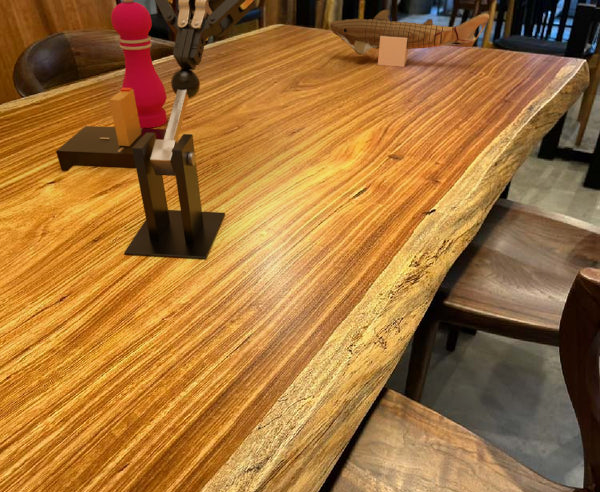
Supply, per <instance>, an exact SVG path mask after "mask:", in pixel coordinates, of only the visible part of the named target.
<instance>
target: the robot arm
mask: <svg viewBox="0 0 600 492" xmlns="http://www.w3.org/2000/svg"><path fill="white" fill-rule="evenodd" d="M154 2H155V3H156V5H157V8H158V9H159V11H160V13H161V15H162V17H163V19H164V20H165V23H166V24H167V25H168V27H169V28H170V30H171V31H172V32H173V34H174V35H176V36H175V37H176V38H175V42H174V45H173V50H172V54H173V55H172V56H173V58H174V59H175V61H176V63H177V65H178V66H179V67H180V69H189V70H191V71H195V70H196V67H197V66H199V65H200V64H201V62H202V59H203V54H204V50H205V45H206V41H208V40H209V38H210V37H213V36H215V37H216V38H222V37H223V36H225V35H226V33H227V34H228V32H229V31H230V30H231V29H232V28H233V27H234V26H235V25H237V24H238V22H240V20H241V19H243V18H244V17H245V16H246V15H247V14H248V13H249V12H250V11H251V10H252V9H253V8H255V6H256V4H257V3H256V0H178V9H179V10H178V14H176V13H175V10H174V8H173V6H172V4H173V3H174V2H173V0H154Z"/></svg>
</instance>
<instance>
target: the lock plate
mask: <svg viewBox="0 0 600 492" xmlns="http://www.w3.org/2000/svg"><path fill="white" fill-rule="evenodd" d="M140 129H141V135H140V136H139V137H138V138H137V139H136V140H135V141H134V142H133V143H132V144H131V145H130V146H119V144H118V139H117V134H116V130H115V126H91V125H85V126H84V127H82V128H81V129H79V131H78V132H76V133H75V134H74V135H73V136H72V137H70V138H69V139H68V140H67V141H66V142H65V143H63V144H62V145H61V146H60V147H59V148H58V149H56V150H55V152H56V157H57V159H58V163H59V167H60V170H61V171H62V172H69V170H71V169H72V168H73V167H92V168H112V169H113V168H115V169H136V165H135V160H134V154H133V149H132V148H133V147H134V146H135V145H136V144H137V143H138V141H139V140H140V139H141V138H142V137H143V136H144V135H145V134H146V133H156V139H159V140H164V137H165V133H166V129H167V128H140Z"/></svg>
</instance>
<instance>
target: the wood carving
mask: <svg viewBox="0 0 600 492" xmlns="http://www.w3.org/2000/svg"><path fill="white" fill-rule="evenodd" d="M390 11H391V10H390V9H383V10H381V11H379V12H378V13H377V14H376V15H375V16H374V17H373V18H369V19H365V18H363V19H362V18H353V19H352V18H351V19H349V18H347V19H338V20H333V21H331V22H330V24H329V27H330V30H331V32H332V33H333V34H334V35H335V36H337V37H340V39H341V41H343V42H345V43H346V44H347V45H348V46H349V47H350V48H351V49H353V51H355V53H357V54H358V55H360V56H361V55H364V54H366V53H367V52H368V53H369V52H371V49H377V50H378V59H377V65H378V66H387V67H398V68H399V67H400V68H401V67H402V68H404V67H405V65H406V63H407V61H408V54H409V50H415V49H416V50H417V49H430V48H437V47H442V46H443V47H445V46H446V47H456V48H471V47H472V46H474V44H475V42H476V41H477V40H478V38H479V36H480V35H481V34H482V32H483V31H484V29H485V27H486V25H487V24H488V22H489V19H490V14H489V13H481V14H478V15H477V16H474V17H472V18H470V19H468V20H466V21H464V22H463V23H460V24H458V25H455V26H445V25H444V26H443V25H438V24H434V21H433V19H431V18H429V19H426V21H424V22H423V23H416V22H407V21H402V22H401V21H395V20H394V21H393V20H390ZM480 26H481V29H480V31H479V33H478V34H477V36H475V33H476V30H477V29H478V27H480ZM455 43H457V44H455ZM369 50H370V51H369Z"/></svg>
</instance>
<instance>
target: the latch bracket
mask: <svg viewBox="0 0 600 492" xmlns="http://www.w3.org/2000/svg"><path fill="white" fill-rule="evenodd" d="M155 140H156V133H146V134H145V135H144V136H143V137H142V138H141V139H140V140H139V141H138V143H137V144H136V145H135V146H134V147H133V148H132V149H133V154H134V160H135V165H136V168H135V170H136V174H137V180H138V185H139V190H140V195H141V201H142V205H143V210H144V216H145V220H144V222H143V224H142V225H141V226H140V228H139V230H138V231H137V233H136V234H135V235H134V236H133V238H132V240H131V242H130V243H129V245H127V247H126V249H125V251H124V252H123V255H124V256H133V257H150V258H164V259H165V258H167V259H183V260H184V259H185V260H201V261H202V260H203V261H206V260H207V259H208V256H209V254H210V252H211V250H212V246H213V245H214V242H215V240H216V238H217V236H218V233H219V231H220V229H221V226H222V224H223V221H224V219H225V217H226V213H225V212H219V211H203V210H202V200H201V191H200V185H199V176H198V167H197V157H196V151H195V143H194V135H193V133H192V134H191V133H183V134H182V135H181V136H180V138H179V139H178V140H177V144H176V145H175V146H174V148H173V149H172V155H173V162H174V169H175V175H176V176H175V182H176V189H177V195H178V202H179V208H180V209H179V210H178V209H169V207H168V201H167V194H166V189H165V182H164V175H156V173H155V171H154V169H153V166H152V164H151V161H150V157H151V154H152V150H153V147H154V143H155Z"/></svg>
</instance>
